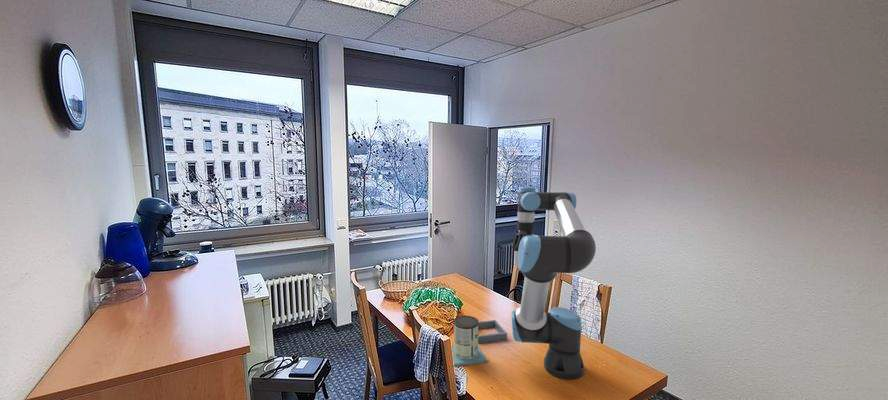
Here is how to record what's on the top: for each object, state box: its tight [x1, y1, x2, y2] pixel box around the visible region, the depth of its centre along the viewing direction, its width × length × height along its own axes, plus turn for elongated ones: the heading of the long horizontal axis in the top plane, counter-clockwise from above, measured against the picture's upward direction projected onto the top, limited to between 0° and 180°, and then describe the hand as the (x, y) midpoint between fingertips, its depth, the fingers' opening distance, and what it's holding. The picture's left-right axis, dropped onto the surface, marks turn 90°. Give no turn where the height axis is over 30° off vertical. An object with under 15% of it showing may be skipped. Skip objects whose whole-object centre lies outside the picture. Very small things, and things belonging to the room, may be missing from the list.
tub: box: [478, 319, 508, 344], centre depth 168 cm, size 14×14×3 cm
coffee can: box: [453, 315, 480, 359], centre depth 149 cm, size 10×10×14 cm
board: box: [452, 344, 488, 367], centre depth 150 cm, size 14×14×1 cm
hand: (524, 268), depth 160 cm, fingers open, 13 cm apart
